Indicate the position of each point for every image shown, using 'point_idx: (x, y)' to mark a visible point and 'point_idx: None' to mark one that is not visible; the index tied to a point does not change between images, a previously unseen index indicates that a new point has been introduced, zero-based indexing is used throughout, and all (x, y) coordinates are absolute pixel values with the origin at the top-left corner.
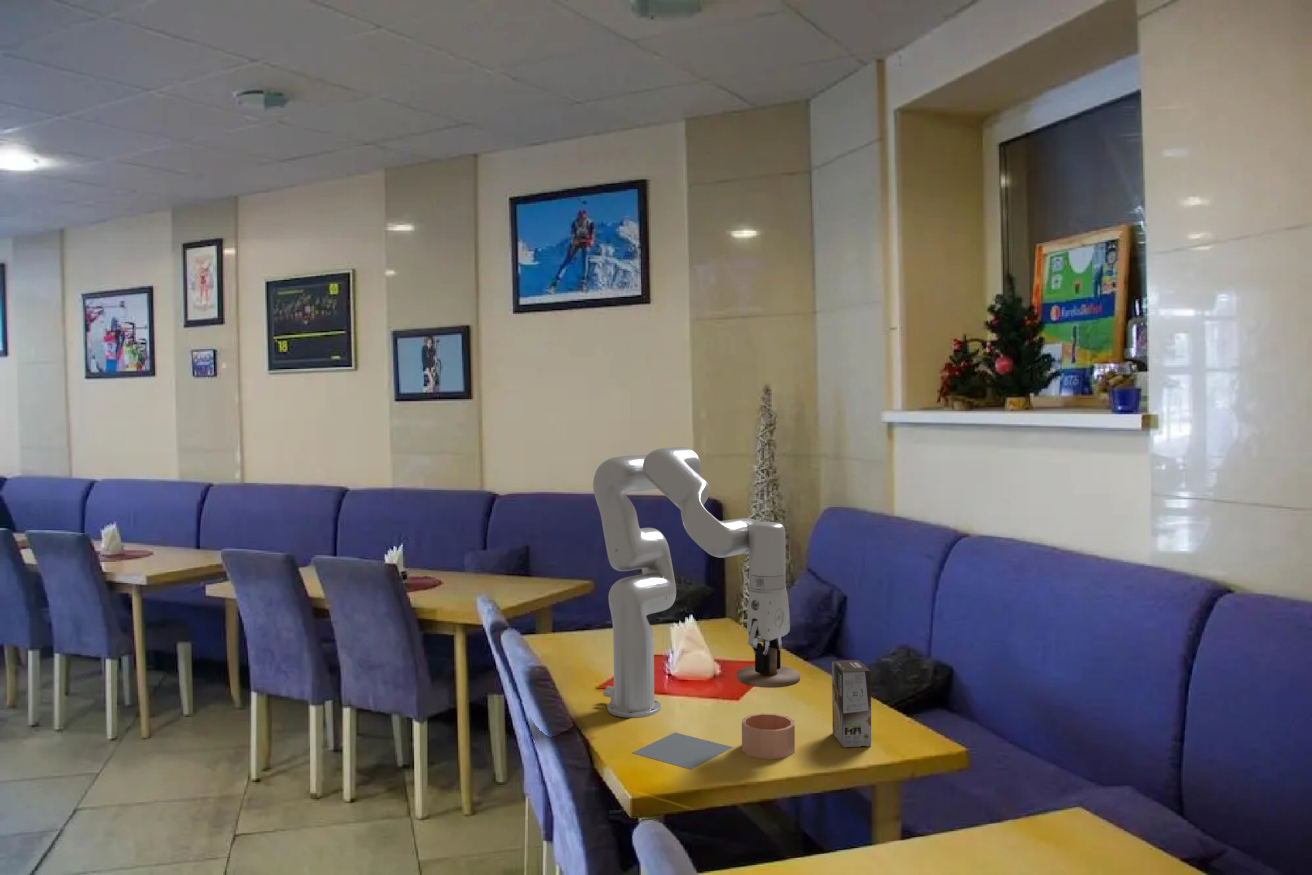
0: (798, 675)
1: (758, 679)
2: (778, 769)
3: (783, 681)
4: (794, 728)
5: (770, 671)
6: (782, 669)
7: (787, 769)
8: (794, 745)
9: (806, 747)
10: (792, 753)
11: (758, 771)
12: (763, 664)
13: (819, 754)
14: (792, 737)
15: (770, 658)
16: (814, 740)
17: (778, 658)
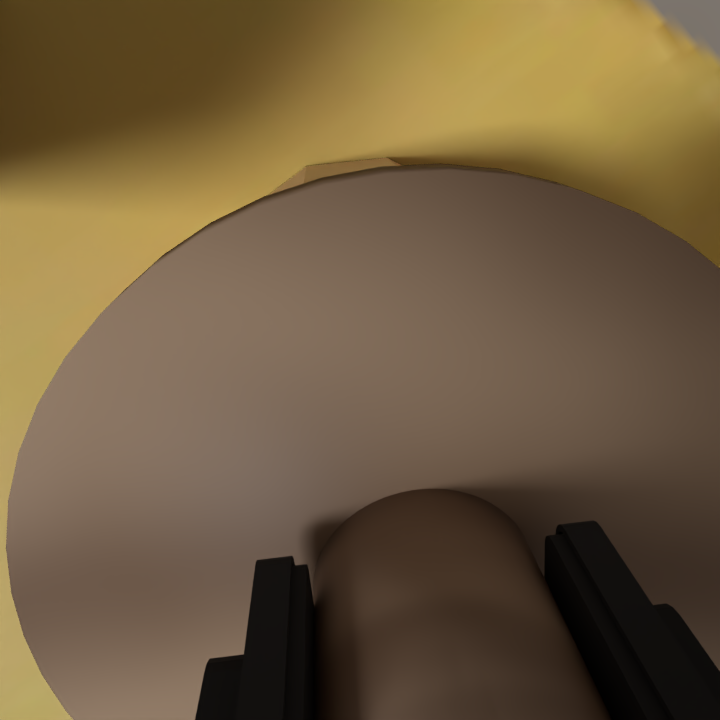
0: (212, 252)
1: (711, 521)
2: (553, 98)
3: (623, 236)
4: (305, 182)
5: (512, 546)
6: (144, 572)
7: (524, 57)
8: (307, 170)
9: (169, 178)
10: (331, 164)
11: (638, 166)
12: (703, 654)
13: (203, 48)
14: (333, 173)
15: (582, 702)
16: (42, 209)
17: (294, 681)
